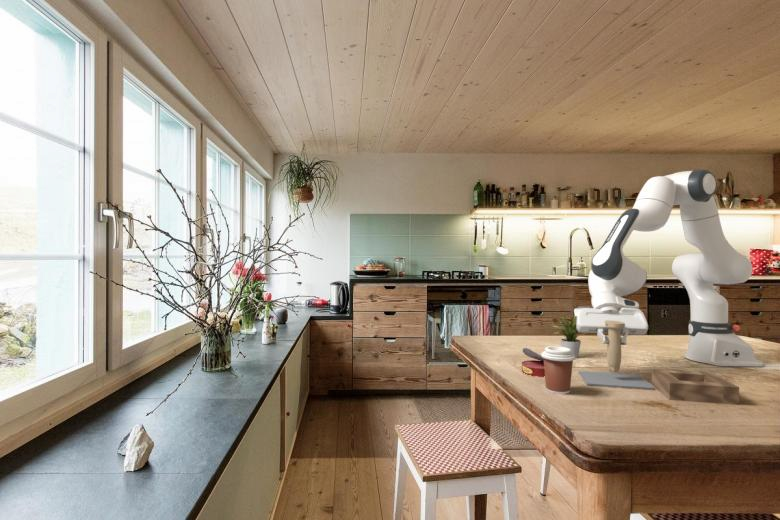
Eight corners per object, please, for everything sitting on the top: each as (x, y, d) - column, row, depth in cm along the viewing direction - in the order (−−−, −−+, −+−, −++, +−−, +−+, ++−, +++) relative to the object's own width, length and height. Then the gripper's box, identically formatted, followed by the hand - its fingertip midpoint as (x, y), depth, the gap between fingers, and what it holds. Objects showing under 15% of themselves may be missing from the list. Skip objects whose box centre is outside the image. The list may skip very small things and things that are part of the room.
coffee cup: (557, 397, 118) (557, 353, 118) (534, 388, 127) (534, 346, 127) (582, 393, 122) (582, 350, 122) (557, 384, 130) (558, 344, 130)
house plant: (556, 349, 176) (556, 309, 175) (593, 354, 167) (593, 312, 167) (545, 356, 164) (546, 313, 164) (585, 362, 156) (585, 316, 156)
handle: (615, 368, 137) (616, 320, 137) (627, 373, 130) (628, 323, 130) (600, 368, 137) (601, 320, 136) (611, 373, 130) (612, 323, 130)
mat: (639, 376, 138) (639, 374, 138) (654, 390, 125) (654, 387, 125) (578, 372, 143) (578, 370, 143) (586, 385, 129) (586, 383, 129)
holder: (712, 388, 126) (713, 372, 126) (738, 404, 113) (739, 387, 113) (651, 384, 130) (651, 369, 130) (669, 399, 117) (669, 382, 117)
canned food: (522, 383, 146) (518, 354, 151) (554, 382, 144) (548, 352, 149) (524, 376, 137) (519, 345, 141) (557, 374, 135) (552, 343, 139)
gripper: (574, 300, 142) (579, 335, 133) (643, 302, 138) (654, 339, 128) (571, 312, 147) (576, 347, 137) (639, 314, 142) (648, 351, 133)
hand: (614, 343), depth 133 cm, fingers closed on handle, 3 cm apart
